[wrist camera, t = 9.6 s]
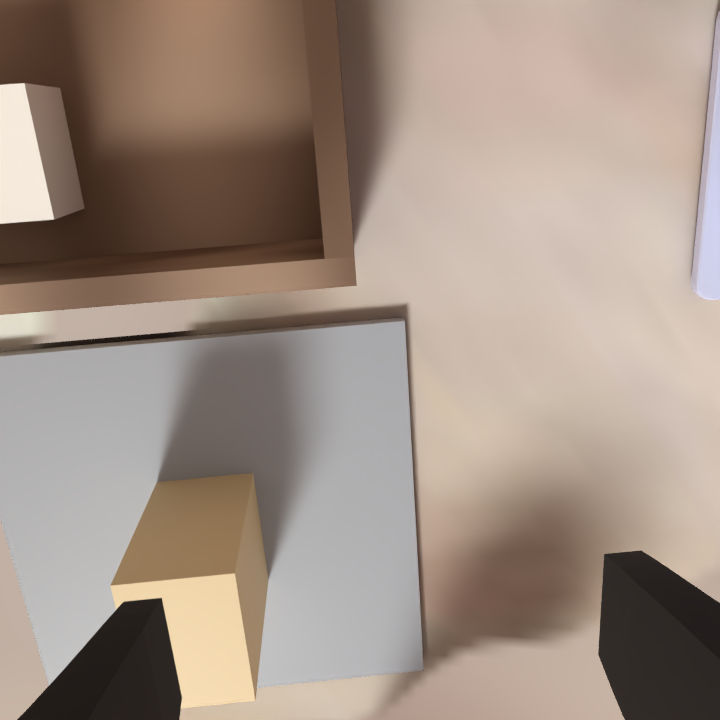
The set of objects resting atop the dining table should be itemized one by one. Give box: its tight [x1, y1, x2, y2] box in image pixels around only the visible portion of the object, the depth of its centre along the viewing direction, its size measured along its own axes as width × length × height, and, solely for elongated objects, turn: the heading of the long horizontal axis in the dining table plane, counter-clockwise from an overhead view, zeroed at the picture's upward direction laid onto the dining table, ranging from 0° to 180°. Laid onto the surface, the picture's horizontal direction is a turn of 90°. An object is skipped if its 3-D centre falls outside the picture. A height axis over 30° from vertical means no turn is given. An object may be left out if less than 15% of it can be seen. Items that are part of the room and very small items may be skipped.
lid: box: [0, 317, 424, 708], centre depth 20 cm, size 13×13×6 cm
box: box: [0, 0, 357, 315], centre depth 16 cm, size 12×12×4 cm
